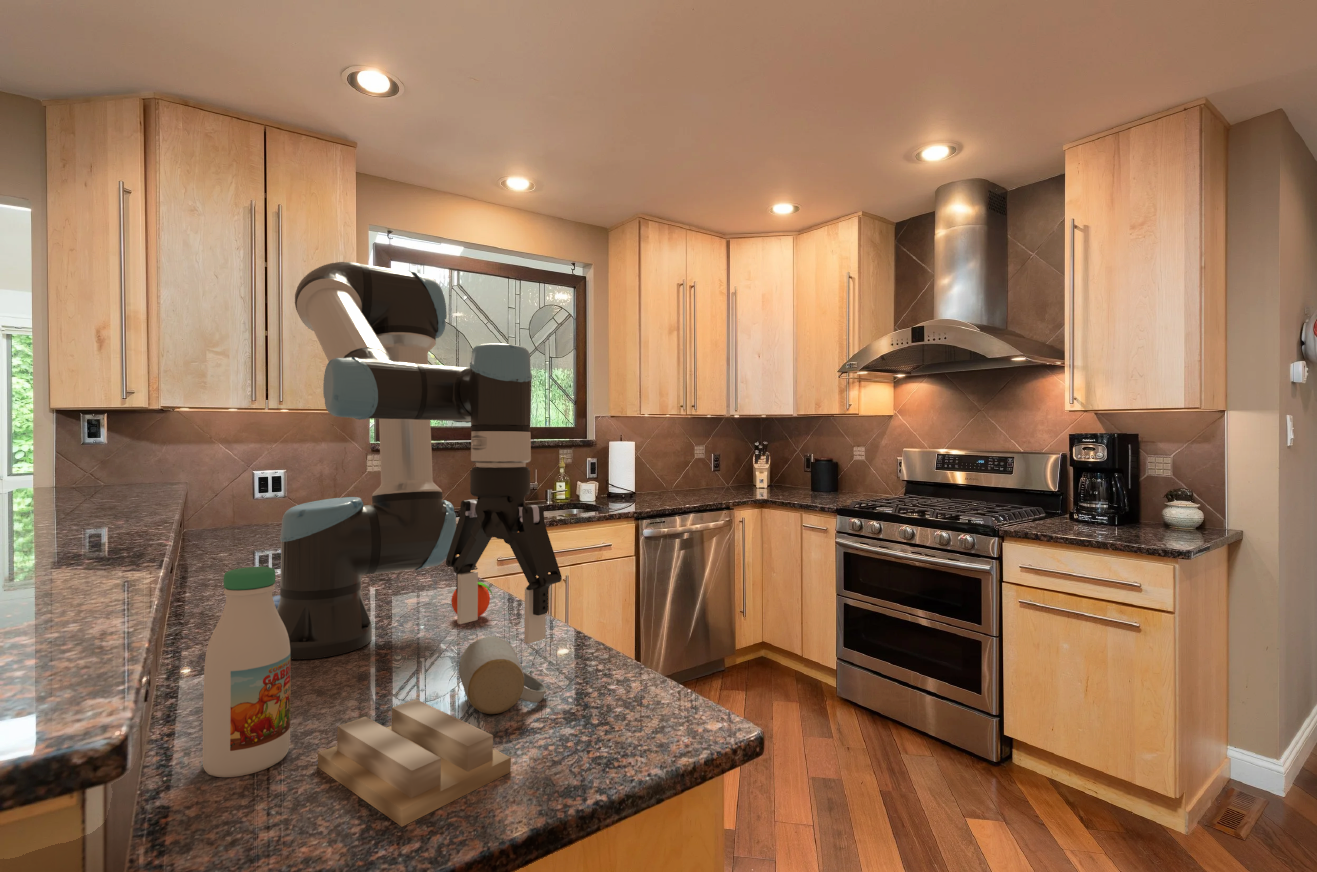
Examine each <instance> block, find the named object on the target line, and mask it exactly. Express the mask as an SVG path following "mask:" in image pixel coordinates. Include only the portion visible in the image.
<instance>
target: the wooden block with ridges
mask: <svg viewBox="0 0 1317 872" xmlns="http://www.w3.org/2000/svg"><path fill="white" fill-rule="evenodd" d="M336 737H337V739H336V741H337V742H336V745H335V746H332V747H329V748H327V749H323V750H321V751H318V752H317V768H318V769H319V770H321V771H322V772H323V773H325V774H327V775H328V776H329V777H331V778H332V779H333V780H335V781H336V782H338V783H339V784H341V785H342V786H343V787H345V788H346V789H348V790H349V791H351V792H352V793H353V794H354V795H356V796H358V797H359V798H360V799H362V800H363V801H364V802H366V803H367V804H369V805H370V806H371V807H373V808H374V809H376V810H377V811H379V812H380V813H381V814H383V815H385V816H386V817H387V818H389V819H390V820H391V821H393V822H395V823H396V824H397V825H398V826H400V827H401V828H402V827H405V826H407V825H408V824H410V823H412V822H415V821H417V820H419V819H420V818H423V817H424V816H426V815H429V814H430V813H432V812H434V811H436V810H438V809H440V808H443V807H444V806H446V805H449V804H450V803H452V802H455V800H458V799H460V798H462V797H464V796H466V795H468V794H470V793H472V792H473V791H476V790H478V789H480V788H482V787H484V786H486V785H488V784H490V783H492V782H494V781H496V780H498V779H499V778H501V777H503V776H506V775H508V774H509V773H511V772H512V768H511V767H512V765H511V763H512V756H511V757H510V756H509V755H507V754H504V753H503V752H500V751H499V750H497V749H495V748H494V734H491V733H489V732H487V731H484V730H482V729H480V728H478V727H476V726H474V725H473V724H470V723H467V722H466V721H464V720H462V719H460V718H457V717H455V716H452V715H451V714H448V713H447V712H445V711H442V710H440V709H438V708H436V707H434V706H431V705H430V704H427V703H425V702H424V701H422V700H419V699H412V700H410V701H406V702H405V703H401V704H398V705H395V706H392V707H391V725H389V726H384V725H383V724H380V723H378V722H377V721H374V720H372V719H371V718H369V717H367V716H363V717H360V718H357V719H354V720H351V721H349V722H346V723H343V724H339V725H337V735H336Z"/></svg>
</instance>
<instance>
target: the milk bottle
mask: <svg viewBox="0 0 1317 872" xmlns="http://www.w3.org/2000/svg"><path fill="white" fill-rule="evenodd" d="M223 588H224V591H223V593H222V594H224V595H225V596H226V598H225V604H224V608H223V610H222V614H221V616H220V618H219V620H218V622H217V624H216V626H215V628H214V630H213V632H212V634H211V636H210V638H209V640H208V644H207V648H206V651H205V652H206V653H205V657H204V670H203V671H204V673H203V700H202V701H203V703H202V704H203V705H202V707H203V708H202V710H203V711H202V768H203V769H204V771H205V773H207V774H208V775H209V776H211V777H215V778H216V777H217V778H235V777H243V776H246V775H251V774H255V773H258V772H261V771H264V770H266V769H268V768H270V767H273V766H274V765H276V764H279V762H281V761H282V760H283V759H284V758H285V757H286V756H287V753H288V752H289V749H290V743H291V742H290V741H291V696H292V695H291V691H292V690H291V686H292V685H291V684H292V683H291V679H292V678H291V677H292V676H291V674H292V673H291V671H292V670H291V668H292V667H291V665H292V664H291V661H292V659H291V657H290V642H289V637H288V633H287V630H286V627H285V625H284V623H283V621H282V620H281V618H280V616H279V614H278V612H277V609H276V607H275V604H274V600H273V592H274V590H275V589H276V570H275V568H273V567H270V566H247V567H239V568H234V569H231V570H228V571H226V572H225V573H224V575H223Z"/></svg>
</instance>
